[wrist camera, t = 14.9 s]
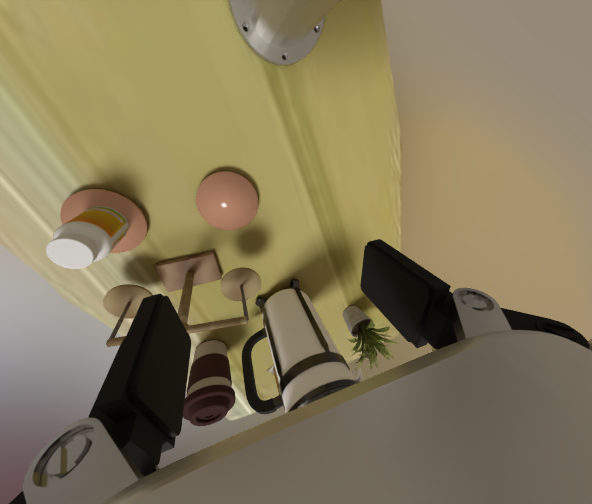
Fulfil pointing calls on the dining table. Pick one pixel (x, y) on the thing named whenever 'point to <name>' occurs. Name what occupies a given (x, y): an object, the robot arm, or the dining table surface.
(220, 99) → the dining table surface
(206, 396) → the coffee cup
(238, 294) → the balance
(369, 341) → the house plant
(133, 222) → the tan flat disc
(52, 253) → the supplement bottle
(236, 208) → the pink disc
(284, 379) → the coffee press
